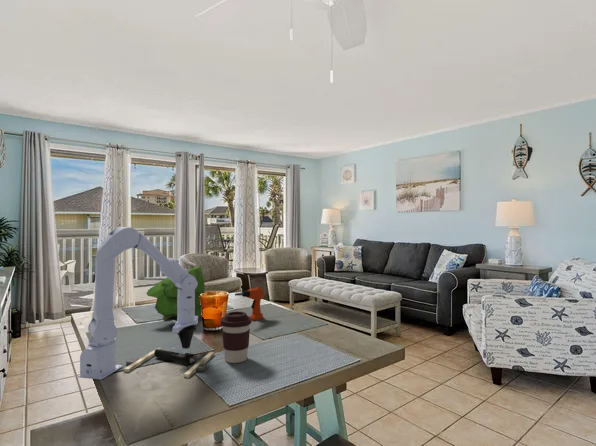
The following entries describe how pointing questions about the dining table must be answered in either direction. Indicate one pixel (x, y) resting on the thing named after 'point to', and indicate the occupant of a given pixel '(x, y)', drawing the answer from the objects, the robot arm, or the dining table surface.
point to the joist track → (136, 362)
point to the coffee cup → (235, 336)
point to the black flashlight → (175, 357)
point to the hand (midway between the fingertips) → (186, 347)
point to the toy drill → (256, 296)
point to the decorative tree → (175, 294)
